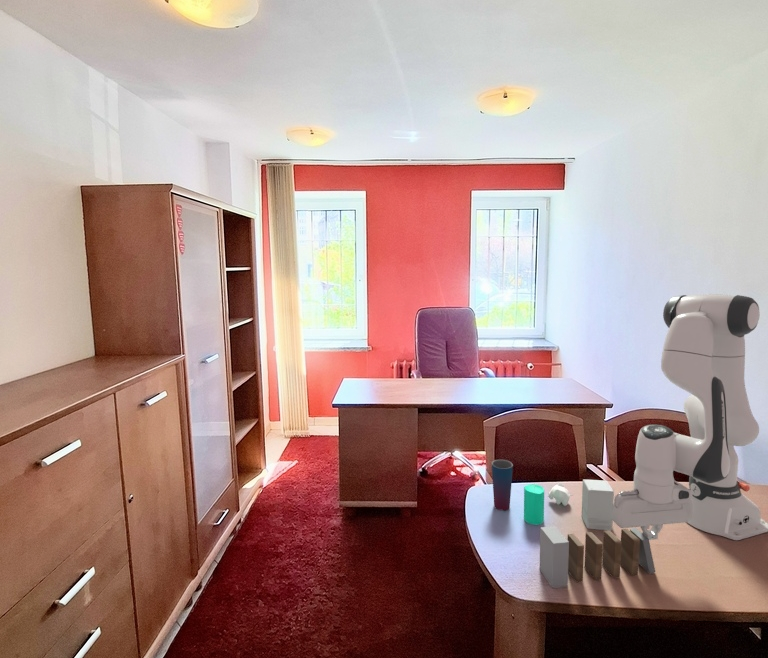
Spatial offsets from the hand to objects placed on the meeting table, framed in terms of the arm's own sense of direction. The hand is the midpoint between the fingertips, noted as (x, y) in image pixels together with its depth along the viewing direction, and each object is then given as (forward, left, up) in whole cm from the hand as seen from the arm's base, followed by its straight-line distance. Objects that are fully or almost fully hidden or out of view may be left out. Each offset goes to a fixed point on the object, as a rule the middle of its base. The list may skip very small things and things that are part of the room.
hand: (649, 538), depth 116 cm
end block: (+26, 0, -8) cm, 28 cm away
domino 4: (+5, 0, -8) cm, 10 cm away
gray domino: (+1, 0, -8) cm, 8 cm away
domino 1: (+20, 0, -8) cm, 22 cm away
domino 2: (+15, 0, -8) cm, 18 cm away
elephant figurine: (+6, -34, -9) cm, 36 cm away
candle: (+19, -26, -9) cm, 34 cm away
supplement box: (+1, -21, -9) cm, 23 cm away
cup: (+26, -35, -9) cm, 45 cm away
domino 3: (+10, 0, -8) cm, 13 cm away
